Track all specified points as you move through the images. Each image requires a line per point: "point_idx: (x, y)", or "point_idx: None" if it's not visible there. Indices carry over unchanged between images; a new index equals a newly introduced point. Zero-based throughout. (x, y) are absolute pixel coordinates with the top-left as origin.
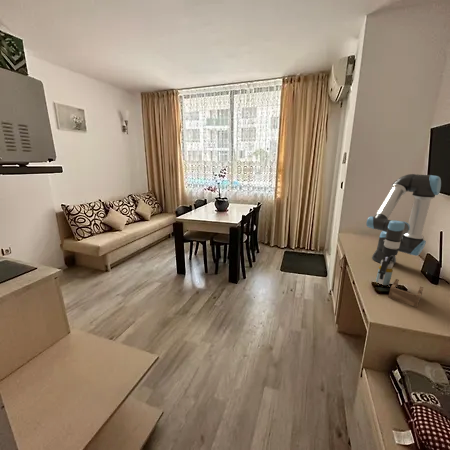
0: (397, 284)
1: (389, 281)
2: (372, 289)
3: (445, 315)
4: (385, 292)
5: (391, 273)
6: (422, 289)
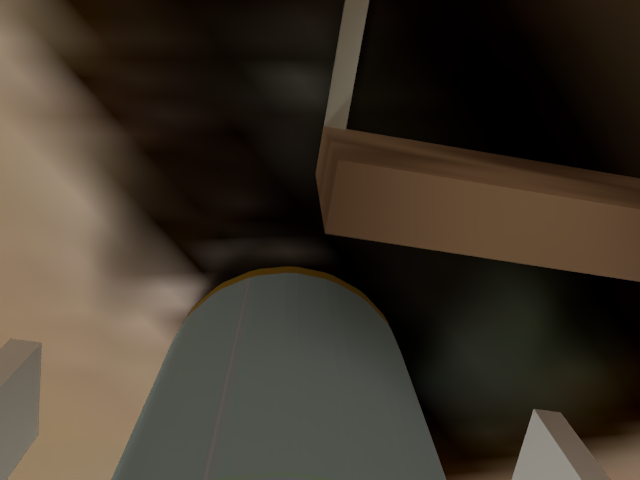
0: (384, 150)
1: (338, 317)
2: (608, 468)
3: None
4: (607, 294)
5: (366, 459)
6: None
